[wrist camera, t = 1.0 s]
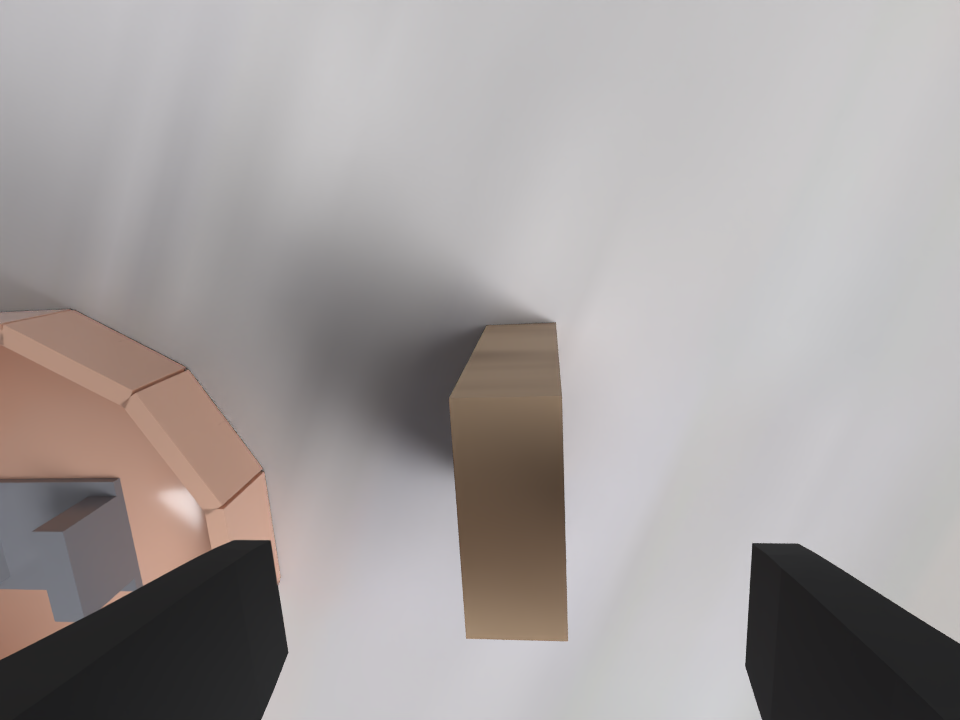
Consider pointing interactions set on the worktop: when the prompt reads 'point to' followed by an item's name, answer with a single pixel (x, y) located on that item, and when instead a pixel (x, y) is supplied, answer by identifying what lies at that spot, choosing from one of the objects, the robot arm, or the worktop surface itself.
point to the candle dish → (107, 472)
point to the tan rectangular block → (511, 485)
